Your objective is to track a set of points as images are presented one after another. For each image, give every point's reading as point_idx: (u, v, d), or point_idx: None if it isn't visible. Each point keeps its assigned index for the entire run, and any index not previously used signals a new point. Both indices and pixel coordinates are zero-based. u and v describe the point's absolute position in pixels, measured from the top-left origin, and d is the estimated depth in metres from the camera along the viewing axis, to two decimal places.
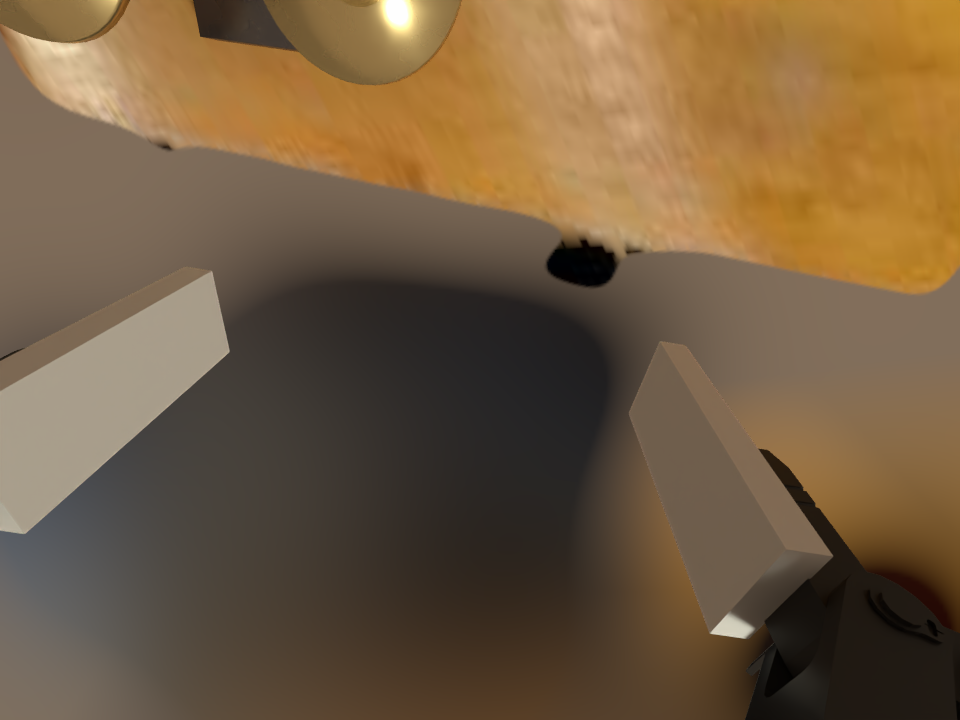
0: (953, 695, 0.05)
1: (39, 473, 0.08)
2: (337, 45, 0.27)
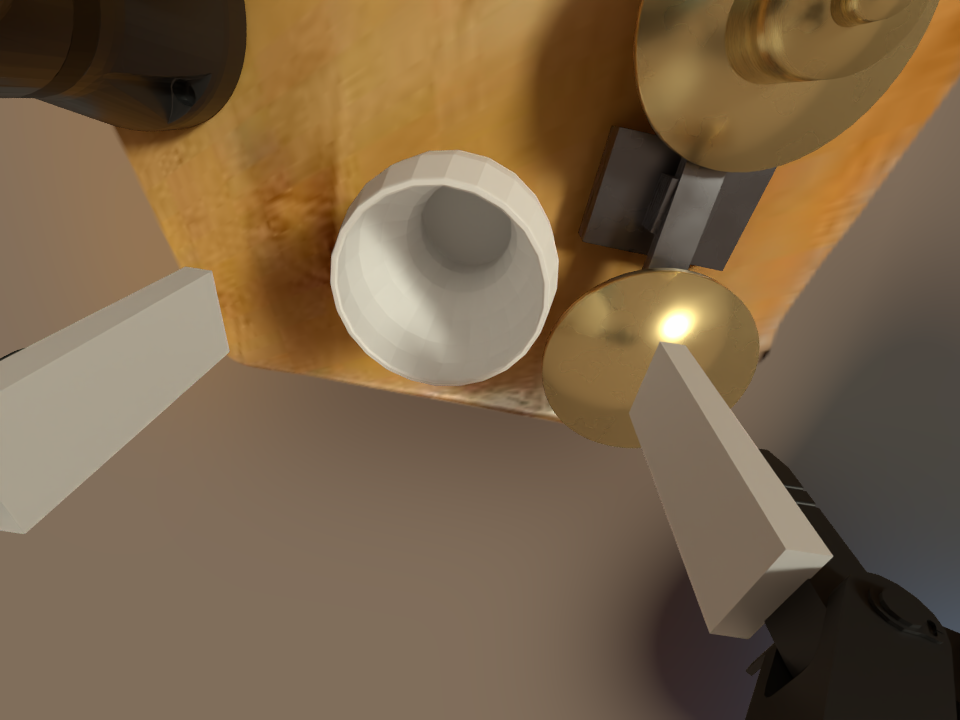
0: (953, 695, 0.05)
1: (39, 473, 0.08)
2: (857, 76, 0.20)
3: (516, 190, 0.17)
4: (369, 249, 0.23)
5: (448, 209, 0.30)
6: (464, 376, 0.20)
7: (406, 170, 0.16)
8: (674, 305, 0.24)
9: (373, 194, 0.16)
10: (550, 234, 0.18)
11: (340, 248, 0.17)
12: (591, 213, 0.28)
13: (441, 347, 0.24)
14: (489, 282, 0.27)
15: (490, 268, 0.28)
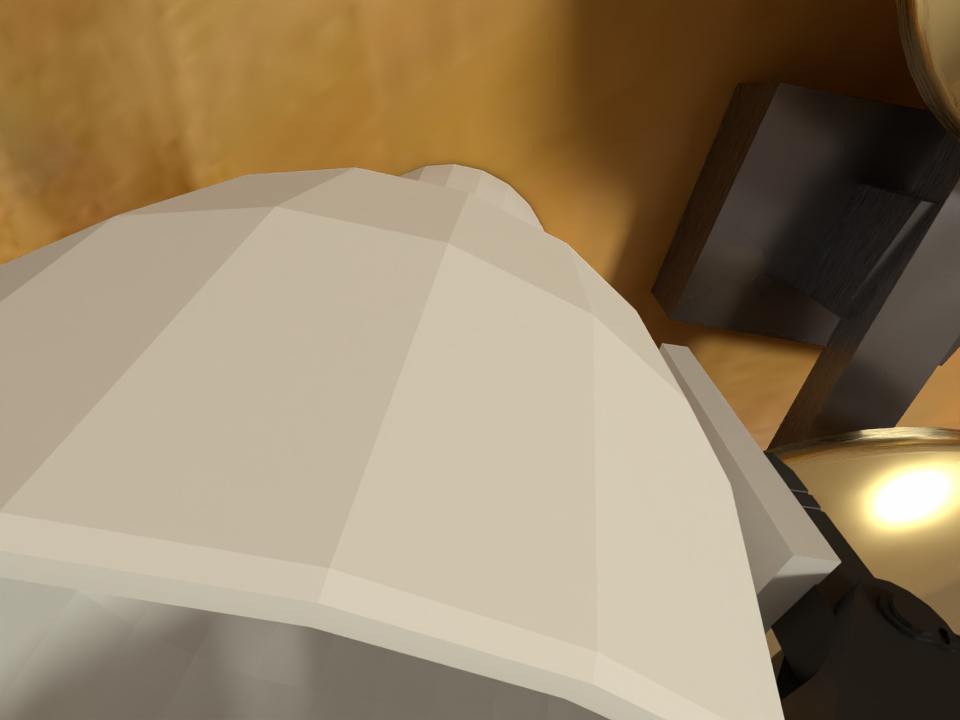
0: None
1: None
2: None
3: (613, 394, 0.03)
4: None
5: None
6: None
7: None
8: (936, 511, 0.10)
9: None
10: (738, 521, 0.04)
11: None
12: (691, 267, 0.14)
13: None
14: None
15: None
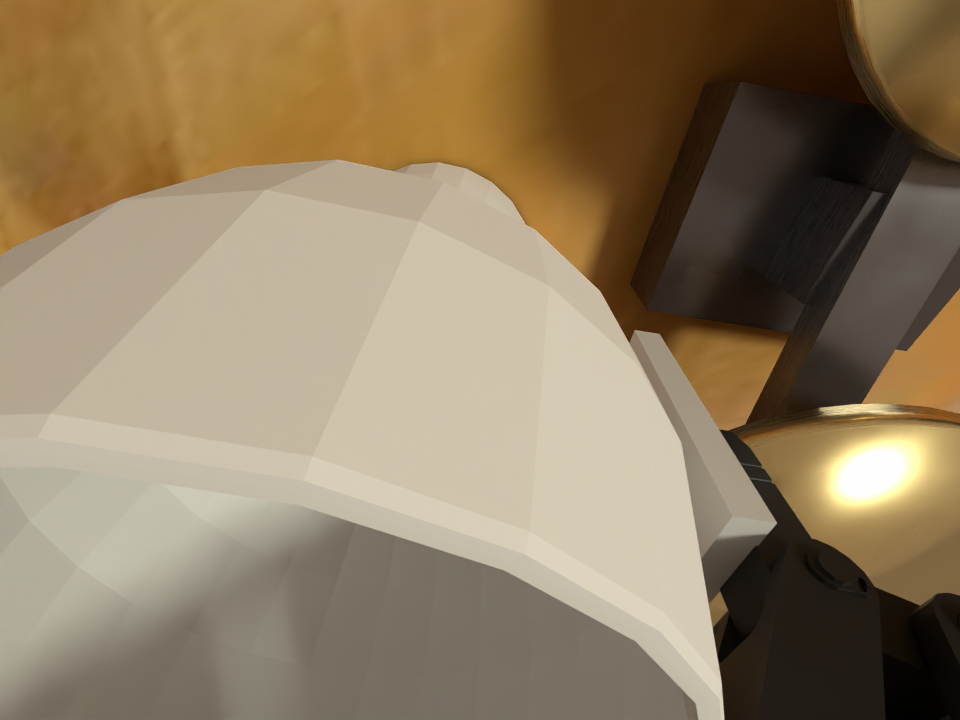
0: (880, 644, 0.06)
1: None
2: None
3: (563, 350, 0.04)
4: None
5: None
6: None
7: None
8: (891, 483, 0.10)
9: None
10: (685, 472, 0.05)
11: None
12: (665, 259, 0.14)
13: (371, 601, 0.11)
14: None
15: None
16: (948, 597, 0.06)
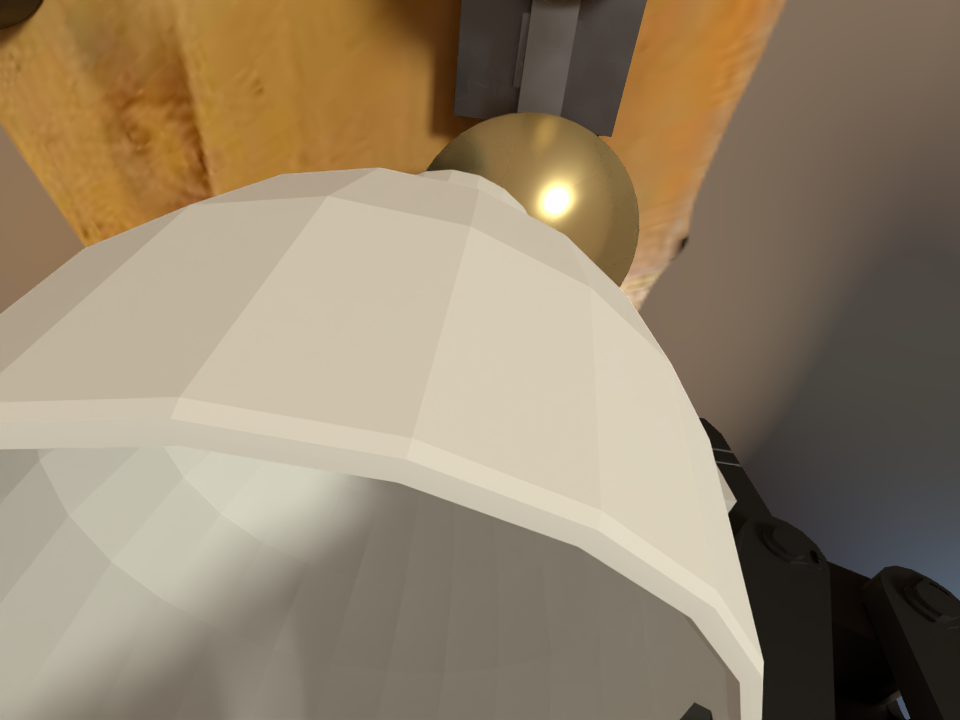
0: (830, 612, 0.06)
1: None
2: None
3: (608, 348, 0.04)
4: None
5: None
6: None
7: (57, 302, 0.03)
8: (532, 156, 0.21)
9: None
10: (715, 467, 0.05)
11: None
12: None
13: (390, 600, 0.11)
14: None
15: None
16: (895, 571, 0.07)
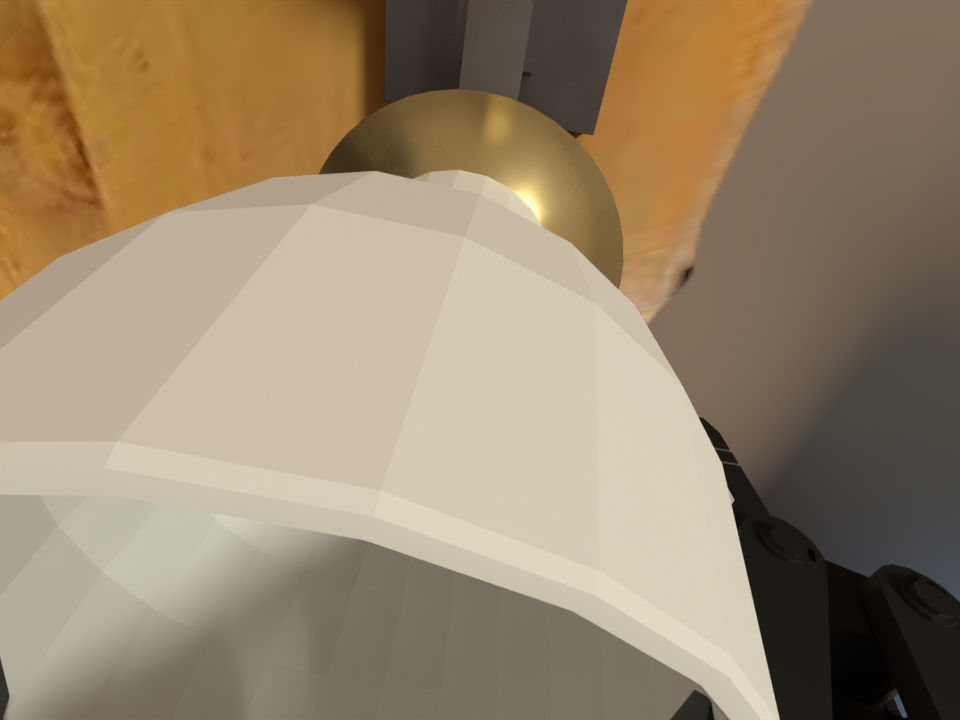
0: (827, 610, 0.06)
1: None
2: None
3: (613, 372, 0.04)
4: None
5: None
6: None
7: (13, 320, 0.03)
8: (469, 153, 0.15)
9: None
10: (728, 496, 0.05)
11: None
12: None
13: (388, 611, 0.10)
14: None
15: None
16: (892, 569, 0.07)
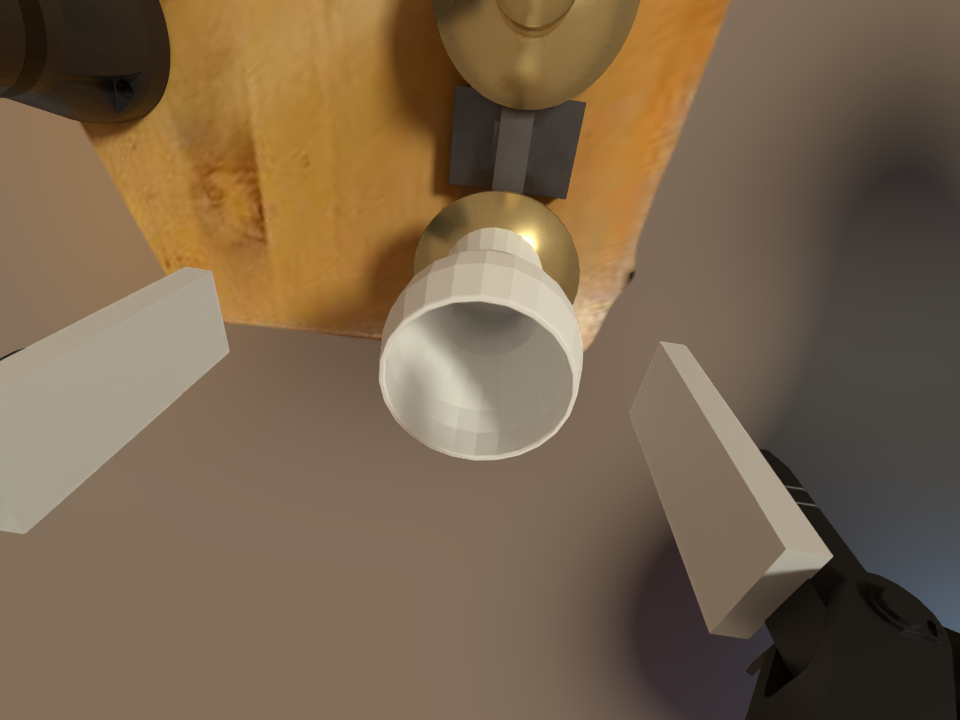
0: (953, 695, 0.05)
1: (39, 473, 0.08)
2: (603, 24, 0.26)
3: (543, 293, 0.19)
4: (406, 331, 0.25)
5: None
6: (500, 450, 0.22)
7: (444, 284, 0.18)
8: (500, 219, 0.30)
9: (417, 310, 0.18)
10: (575, 326, 0.20)
11: (388, 353, 0.19)
12: None
13: (475, 414, 0.26)
14: (515, 344, 0.29)
15: (514, 328, 0.30)
16: None
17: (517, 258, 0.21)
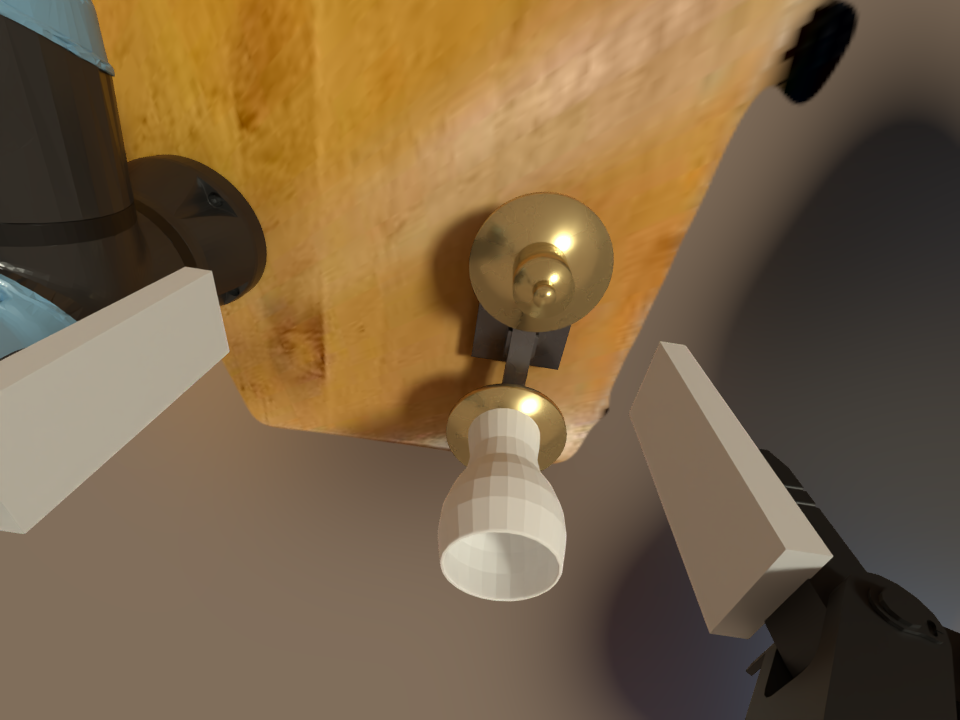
0: (953, 695, 0.05)
1: (39, 473, 0.08)
2: (585, 290, 0.39)
3: (542, 516, 0.31)
4: None
5: None
6: (512, 593, 0.35)
7: (484, 514, 0.31)
8: (511, 403, 0.42)
9: (468, 533, 0.30)
10: (561, 529, 0.32)
11: (447, 550, 0.31)
12: None
13: (493, 556, 0.38)
14: None
15: None
16: None
17: (526, 483, 0.33)
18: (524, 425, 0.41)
